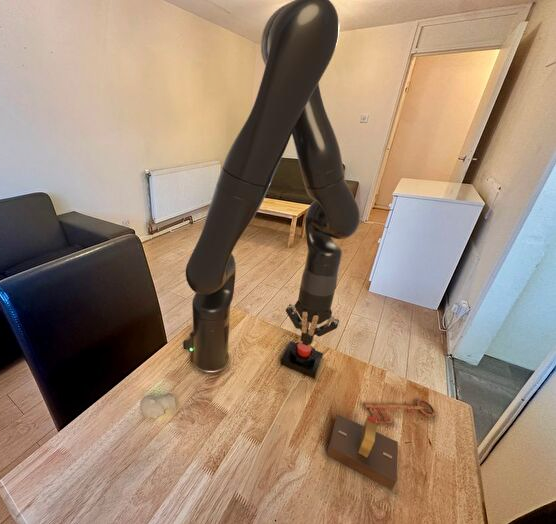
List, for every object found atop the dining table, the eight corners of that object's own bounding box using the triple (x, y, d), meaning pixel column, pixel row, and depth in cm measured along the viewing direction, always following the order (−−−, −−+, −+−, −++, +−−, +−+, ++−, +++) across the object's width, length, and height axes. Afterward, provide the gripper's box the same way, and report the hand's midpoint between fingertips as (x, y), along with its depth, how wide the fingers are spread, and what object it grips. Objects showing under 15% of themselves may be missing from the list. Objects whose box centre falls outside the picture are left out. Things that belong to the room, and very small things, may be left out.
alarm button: (294, 353, 75) (295, 348, 74) (298, 345, 78) (299, 340, 77) (308, 358, 73) (309, 353, 72) (312, 350, 76) (313, 345, 75)
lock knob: (367, 457, 52) (375, 440, 50) (357, 452, 53) (365, 435, 51) (370, 435, 56) (377, 418, 54) (361, 430, 57) (368, 413, 55)
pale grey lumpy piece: (140, 423, 63) (142, 399, 66) (176, 420, 63) (177, 396, 67) (137, 416, 60) (139, 391, 63) (175, 414, 60) (175, 389, 64)
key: (371, 423, 62) (443, 426, 61) (372, 420, 61) (445, 424, 61) (360, 398, 67) (426, 401, 66) (361, 396, 66) (428, 399, 65)
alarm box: (280, 364, 76) (282, 353, 74) (289, 346, 82) (291, 335, 80) (314, 379, 72) (317, 367, 70) (321, 359, 78) (324, 348, 76)
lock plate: (326, 455, 56) (330, 445, 54) (334, 422, 62) (337, 413, 60) (391, 490, 50) (397, 480, 49) (393, 450, 56) (398, 441, 55)
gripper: (284, 285, 66) (276, 342, 74) (345, 302, 60) (329, 363, 68) (294, 272, 72) (285, 326, 80) (351, 287, 66) (335, 344, 73)
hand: (306, 343), depth 74 cm, fingers closed
